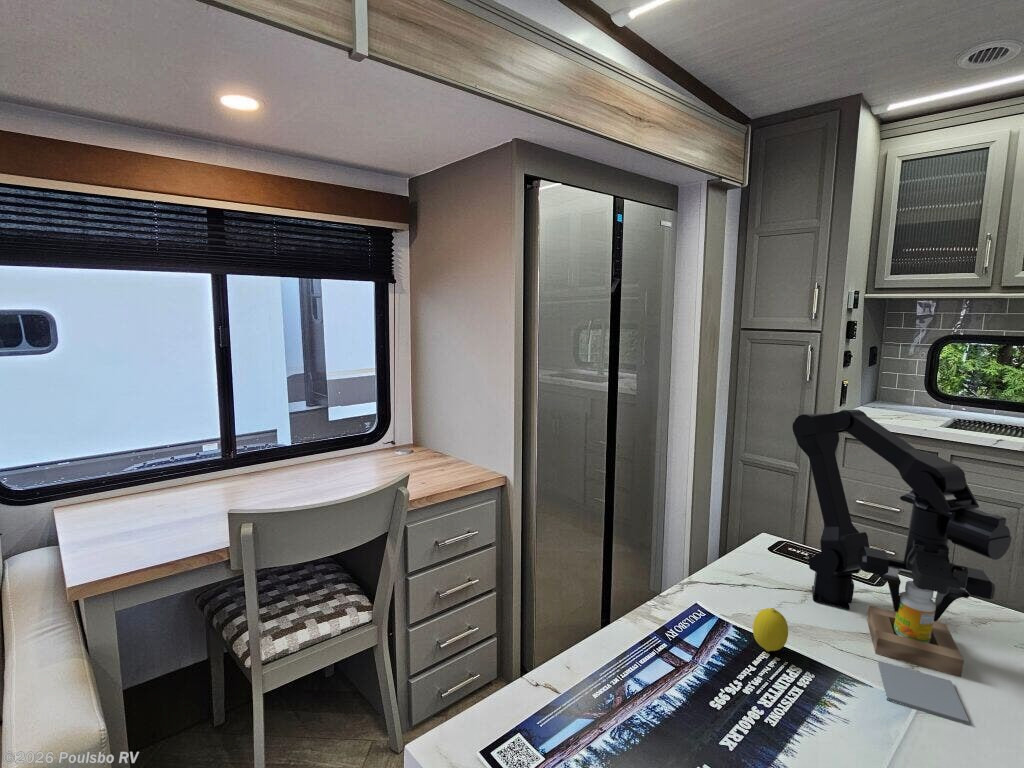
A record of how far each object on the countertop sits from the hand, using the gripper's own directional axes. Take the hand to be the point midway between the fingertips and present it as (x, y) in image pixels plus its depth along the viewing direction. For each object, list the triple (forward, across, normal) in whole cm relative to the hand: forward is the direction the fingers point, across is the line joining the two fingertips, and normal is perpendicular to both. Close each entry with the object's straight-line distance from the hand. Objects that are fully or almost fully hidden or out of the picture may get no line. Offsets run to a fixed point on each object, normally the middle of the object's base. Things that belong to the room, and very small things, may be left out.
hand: (914, 615), depth 98 cm
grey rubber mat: (+6, -1, -14) cm, 15 cm away
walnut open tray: (+6, 0, 0) cm, 6 cm away
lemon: (+6, -23, -15) cm, 28 cm away
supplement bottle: (+4, 0, 0) cm, 4 cm away
